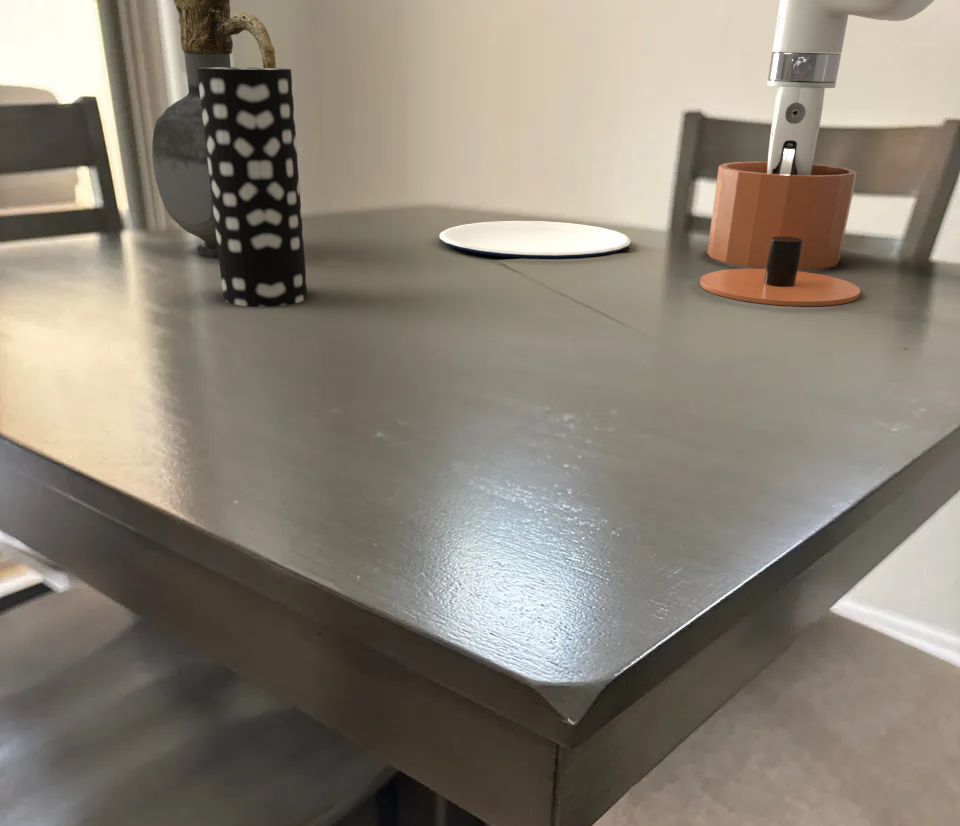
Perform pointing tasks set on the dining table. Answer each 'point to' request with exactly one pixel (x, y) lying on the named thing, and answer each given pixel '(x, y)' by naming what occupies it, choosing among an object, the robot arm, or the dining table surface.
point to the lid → (781, 281)
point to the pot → (779, 213)
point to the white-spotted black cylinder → (254, 183)
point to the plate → (534, 239)
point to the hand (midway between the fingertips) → (774, 240)
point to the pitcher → (198, 116)
